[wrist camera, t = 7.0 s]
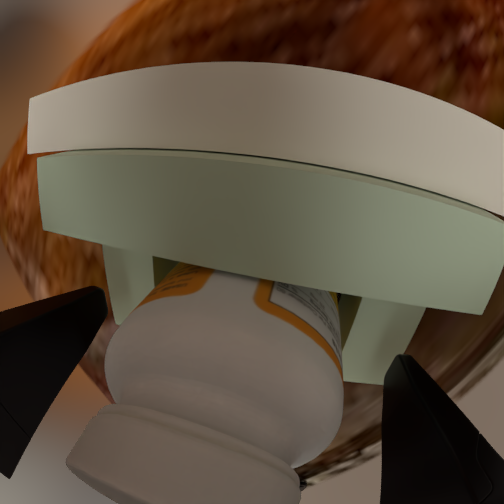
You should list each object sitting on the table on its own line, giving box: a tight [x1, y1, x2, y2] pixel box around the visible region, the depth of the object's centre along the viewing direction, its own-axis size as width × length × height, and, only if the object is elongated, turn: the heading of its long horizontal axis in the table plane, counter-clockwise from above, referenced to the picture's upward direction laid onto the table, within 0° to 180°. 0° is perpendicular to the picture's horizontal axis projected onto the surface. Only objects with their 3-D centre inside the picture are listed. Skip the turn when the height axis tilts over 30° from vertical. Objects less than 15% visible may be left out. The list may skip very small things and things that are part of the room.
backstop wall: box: [28, 62, 504, 216], centre depth 7 cm, size 2×16×4 cm, turn 84°
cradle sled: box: [37, 148, 504, 385], centre depth 8 cm, size 7×11×6 cm, turn 84°
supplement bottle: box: [66, 262, 344, 504], centre depth 7 cm, size 5×5×10 cm
